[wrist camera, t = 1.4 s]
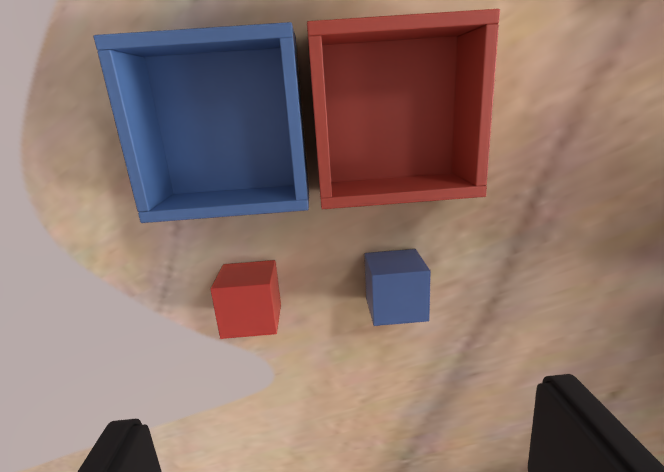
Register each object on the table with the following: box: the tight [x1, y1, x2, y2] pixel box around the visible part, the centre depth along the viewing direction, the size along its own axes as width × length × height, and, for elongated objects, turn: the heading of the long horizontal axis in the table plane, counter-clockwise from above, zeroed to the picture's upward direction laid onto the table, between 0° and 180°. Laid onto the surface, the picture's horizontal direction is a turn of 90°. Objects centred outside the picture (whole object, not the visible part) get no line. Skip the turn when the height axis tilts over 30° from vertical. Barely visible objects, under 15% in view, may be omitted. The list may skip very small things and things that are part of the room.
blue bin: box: [94, 22, 309, 223], centre depth 27 cm, size 12×12×6 cm
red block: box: [211, 260, 281, 339], centre depth 32 cm, size 5×5×5 cm
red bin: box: [307, 9, 500, 209], centre depth 27 cm, size 12×12×6 cm
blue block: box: [365, 249, 430, 326], centre depth 33 cm, size 5×5×5 cm
